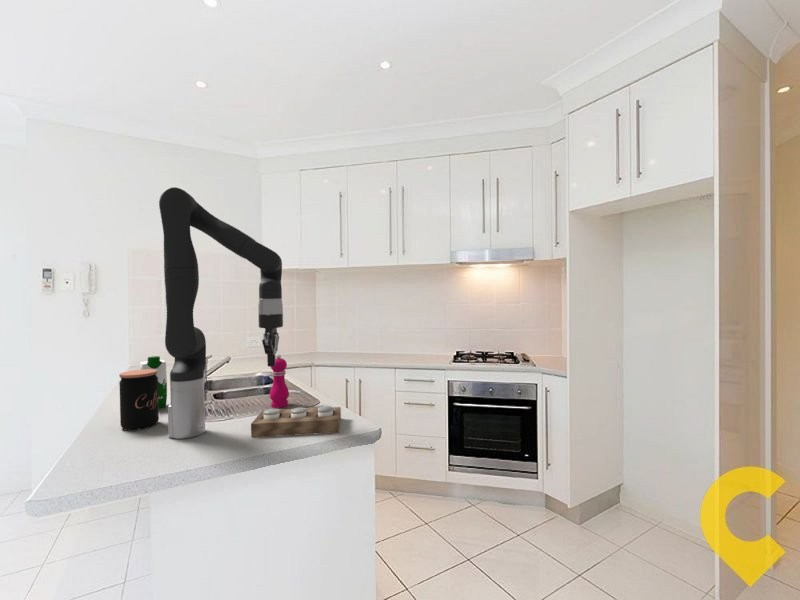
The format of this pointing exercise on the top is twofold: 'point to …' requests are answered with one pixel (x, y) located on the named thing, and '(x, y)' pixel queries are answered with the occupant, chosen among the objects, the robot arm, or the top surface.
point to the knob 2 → (325, 411)
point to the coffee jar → (139, 399)
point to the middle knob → (298, 412)
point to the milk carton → (162, 377)
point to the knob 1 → (271, 414)
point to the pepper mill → (279, 384)
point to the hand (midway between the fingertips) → (271, 366)
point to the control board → (296, 423)
